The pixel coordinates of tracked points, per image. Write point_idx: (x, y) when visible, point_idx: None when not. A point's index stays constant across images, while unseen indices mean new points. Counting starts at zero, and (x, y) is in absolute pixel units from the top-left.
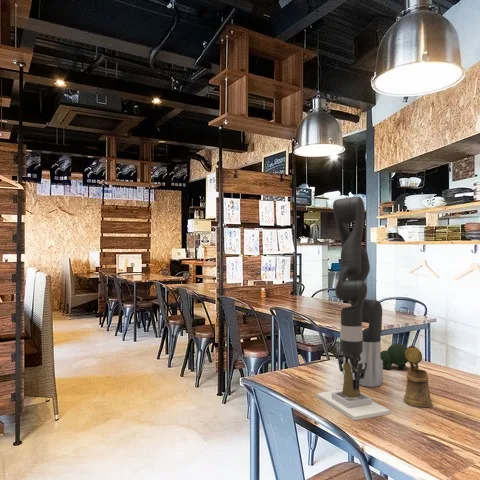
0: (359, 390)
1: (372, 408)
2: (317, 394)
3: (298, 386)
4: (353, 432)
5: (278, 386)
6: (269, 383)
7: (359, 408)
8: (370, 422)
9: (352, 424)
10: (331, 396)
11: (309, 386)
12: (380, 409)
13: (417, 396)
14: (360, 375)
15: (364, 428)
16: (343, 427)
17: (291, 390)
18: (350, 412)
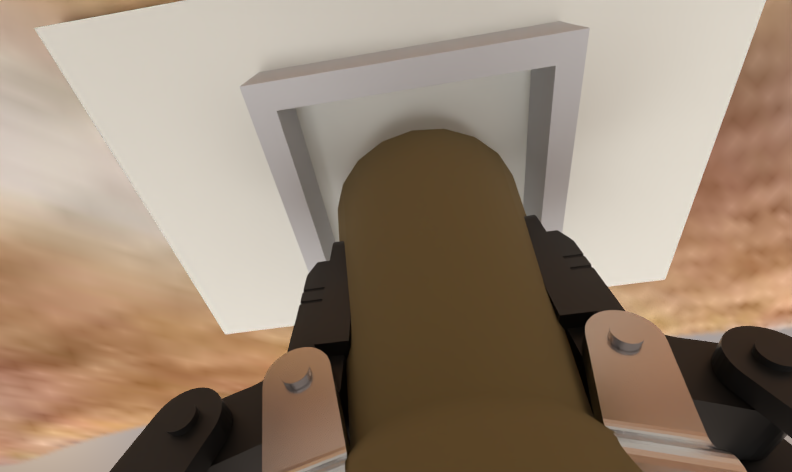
0: (504, 182)
1: (640, 80)
2: (235, 330)
3: (34, 349)
4: (744, 319)
5: (70, 421)
6: (28, 440)
7: (577, 191)
8: (737, 188)
9: (677, 290)
10: (291, 276)
11: (8, 296)
12: (709, 6)
13: None
14: (788, 434)
15: (760, 258)
16: (672, 335)
17: (128, 390)
18: (599, 275)
